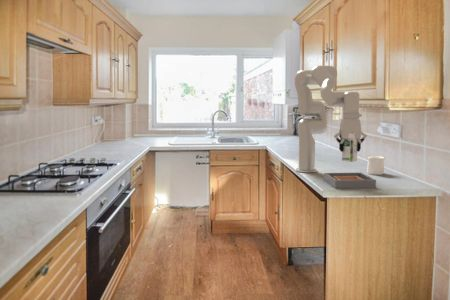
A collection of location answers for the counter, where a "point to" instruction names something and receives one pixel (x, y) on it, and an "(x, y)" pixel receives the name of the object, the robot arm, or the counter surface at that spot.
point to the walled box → (349, 180)
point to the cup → (375, 165)
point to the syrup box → (350, 148)
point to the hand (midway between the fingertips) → (349, 151)
